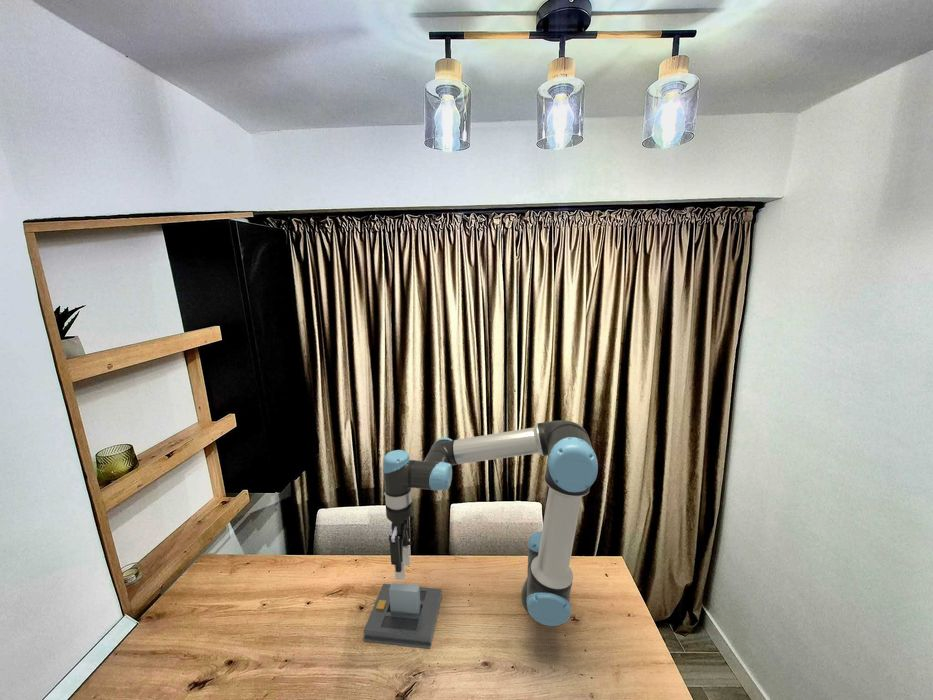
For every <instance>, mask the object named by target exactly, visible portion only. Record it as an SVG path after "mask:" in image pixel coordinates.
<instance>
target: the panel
mask: <svg viewBox="0 0 933 700" xmlns="http://www.w3.org/2000/svg"><path fill="white" fill-rule="evenodd" d="M390 584H391V586H390V588H389V597H390V611H391V612H393V613H403V614H412V615H420V613H421V603H420V587H421V585H417V584H406V583H398V582H397V583H396V582H391V583H390Z"/></svg>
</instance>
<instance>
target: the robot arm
mask: <svg viewBox="0 0 933 700" xmlns="http://www.w3.org/2000/svg"><path fill="white" fill-rule="evenodd" d="M533 454H539V455H541V456H542V457H547V461H546V467H545V473H544V483H545V484H546V485H547V487H548V492H547V498H546V503H545V510H544V517H543V522H542V529H541V531H536V532H534V533H532V534H530V535H529V537H528V542H527V544H526V545H527V574H526V575H527V576H526V578H525V581H524V583H523V586H522V589H521V601H522V605H523V607H524V609H525V610H526V612H528V614H529V616H530V617H531V618H532V619H533V620H534V621H535V622H537V623H539V624H540V625H544V626H547V627H558V626H559V625H563V624H565V623H567V621H569V619H570V617H571V613H572V612H571V611H572V605H571V599H570V598H571V592H572V585H573V579H574V574H573V570H572V569H571V567H570V562H571V559H572V558H571V557H572V552H573V547H574V542H575V535H576V531H577V525H578V520H579V515H580V509H581V504H582V503H581V502H582V497H585V496H586V495H588V494H589V493H590V490H591V486H592V485H593V484H594V483H595V481H596V479H597V478H598V477H597V476H598V472H599V470H598V469H599V464H598V459H597V458H598V457H597V455H596V452H595V450H594V449H593V446H592V442H591V439H590V436H589V433H587V431H586V429H585V428H584V427H583V426H581V425H580V424H578V423H577V422H574V421H570V420H551V421H544V422H537V423H536V424H535V425H534V427H528V428H522V429H516V430H509V431H503V432H498V433H497V432H496V433H491V434H486V435H485V434H484V435H478V436H472V437H466V438H460V439H451V437H450V438H449V437H448V436H447V437H446V436H443V437H440V438H438V439H436V441H435V442H434V443H433V444H432V445H431V447H430V449H429V451H428V453H427V454H426V457H425V458H424V460H415V459H414V460H413V459H411V457H410V454H409V453H408V452H407V451H405V450H403V449H396V450H391V451H389V452H387V453H386V454H385V455H384V457H383V459H382V463H383V464H382V466H383V468H382V473H383V483H384V492H383V496H384V497H385V498H384V499H385V515H386V519H387V520H389V522H390V523H391V527H390V528H391V535H390V534H389V535H388V541H389V542H388V543H389V550H390V564H391V565H393V566H394V575H395V576H394V577H395V580H403V581H405V578H406V573H405V567H410V565H411V564H410V546H412V543H413V542H412V541H410V540H411V537H412V536H411V520H410V517H411V516H412V513H413V506H412V505H413V503H412V502H413V501H412V500H413V499H412V489H420V490H429V491H447V490H449V489H450V487H451V484H452V480H453V466H456V465H461V464H468V463H469V464H470V463H477V462H484V461H491V460H499V459H500V460H501V459H507V458H512V457H513V458H514V457H520V456H527V455H528V456H529V455H533Z"/></svg>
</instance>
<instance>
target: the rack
mask: <svg viewBox="0 0 933 700" xmlns="http://www.w3.org/2000/svg"><path fill="white" fill-rule="evenodd" d="M390 586H391V583H390V584H389V583H383V584H382V586H381V588H380V590H379V593H378V595H377V598H376V600H375V602H374V605H373V607H372V610H371V612H370V614H369V617H368V619H367V621H366V624H365V626H364V629H363V636H364V637H363V642H366V643H374V644H384V645H391V646H401V647H402V646H403V647H409V648H410V647H411V648H419V649H427V650H430V649H431V647H432V642H433V638H434V633H435V630H436V626H437V620H438V616H439V611H440V607H441V601H442V598H443V591H442V588H437V587H436V588H433V587H424V586H423V587H421V586H420V603H421V613H420V615H412V614H403V613H393V612H391V611H390V597H389V588H390Z"/></svg>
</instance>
